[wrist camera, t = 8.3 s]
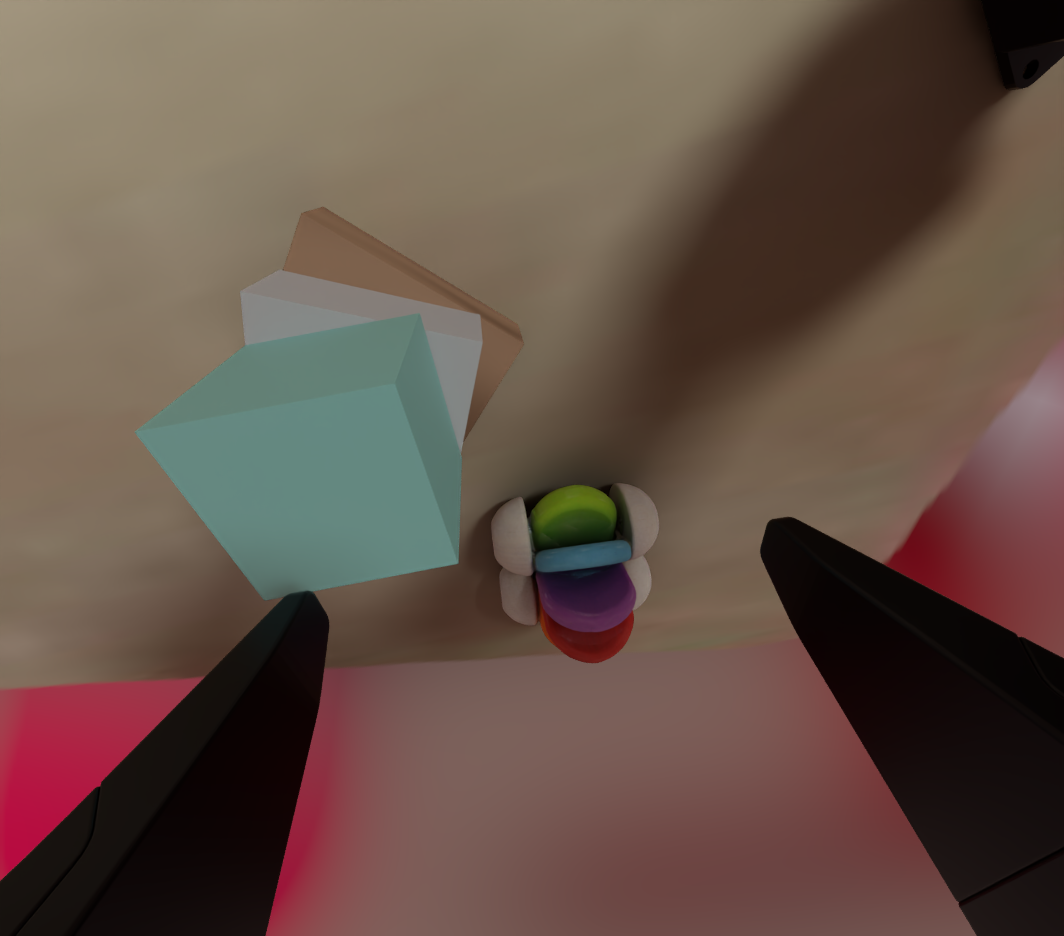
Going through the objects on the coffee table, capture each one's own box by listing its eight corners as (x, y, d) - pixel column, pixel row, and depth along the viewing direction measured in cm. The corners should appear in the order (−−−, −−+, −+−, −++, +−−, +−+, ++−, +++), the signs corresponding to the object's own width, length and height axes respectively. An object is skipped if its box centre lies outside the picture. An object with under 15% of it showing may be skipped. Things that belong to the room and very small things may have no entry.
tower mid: (279, 269, 14) (240, 291, 12) (480, 314, 16) (482, 341, 13) (287, 441, 18) (258, 486, 15) (452, 464, 19) (449, 508, 17)
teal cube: (245, 345, 12) (134, 432, 8) (420, 312, 13) (394, 383, 8) (320, 484, 15) (264, 600, 11) (461, 457, 15) (458, 563, 11)
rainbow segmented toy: (502, 595, 28) (511, 710, 22) (484, 471, 23) (491, 580, 17) (632, 578, 29) (675, 686, 23) (646, 453, 23) (707, 552, 17)
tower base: (326, 205, 16) (301, 213, 13) (516, 320, 19) (523, 344, 16) (264, 386, 19) (235, 418, 17) (434, 459, 22) (430, 495, 20)
